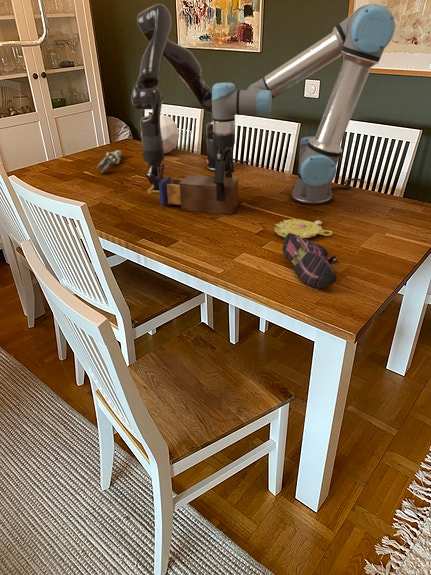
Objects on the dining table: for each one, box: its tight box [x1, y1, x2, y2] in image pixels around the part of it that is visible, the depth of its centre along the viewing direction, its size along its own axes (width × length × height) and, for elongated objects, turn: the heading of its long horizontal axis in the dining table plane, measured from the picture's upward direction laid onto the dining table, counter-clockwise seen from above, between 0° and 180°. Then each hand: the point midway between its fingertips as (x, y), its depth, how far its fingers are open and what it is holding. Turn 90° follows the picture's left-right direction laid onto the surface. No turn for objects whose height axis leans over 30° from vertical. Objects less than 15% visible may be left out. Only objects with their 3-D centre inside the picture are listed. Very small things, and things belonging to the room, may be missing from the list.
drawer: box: [147, 175, 185, 206], centre depth 167 cm, size 23×9×8 cm, turn 74°
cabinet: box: [180, 174, 239, 216], centre depth 164 cm, size 19×10×10 cm, turn 74°
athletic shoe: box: [282, 233, 341, 288], centre depth 122 cm, size 11×22×12 cm
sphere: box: [140, 113, 180, 155], centre depth 225 cm, size 19×20×20 cm
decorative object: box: [273, 218, 333, 239], centre depth 145 cm, size 21×2×20 cm
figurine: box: [96, 150, 123, 174], centre depth 213 cm, size 7×8×30 cm
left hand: (158, 192), depth 170 cm, fingers closed
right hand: (224, 195), depth 162 cm, fingers closed on cabinet, 10 cm apart
